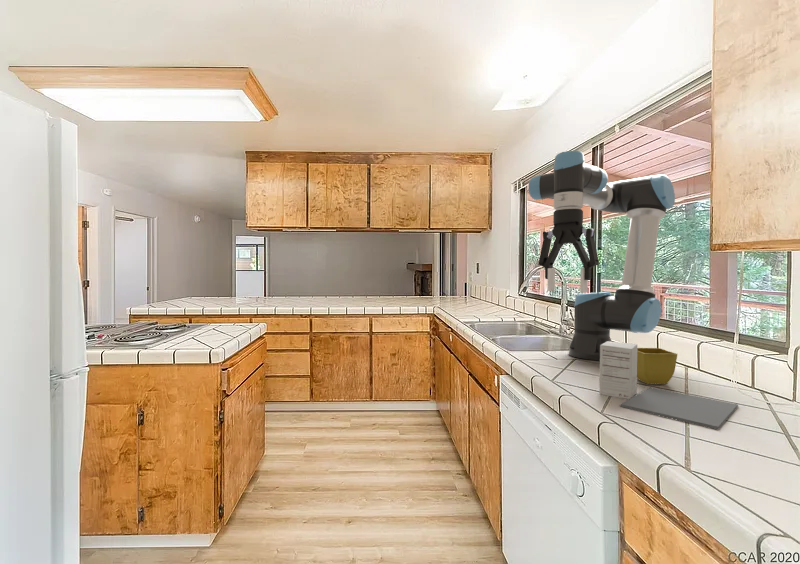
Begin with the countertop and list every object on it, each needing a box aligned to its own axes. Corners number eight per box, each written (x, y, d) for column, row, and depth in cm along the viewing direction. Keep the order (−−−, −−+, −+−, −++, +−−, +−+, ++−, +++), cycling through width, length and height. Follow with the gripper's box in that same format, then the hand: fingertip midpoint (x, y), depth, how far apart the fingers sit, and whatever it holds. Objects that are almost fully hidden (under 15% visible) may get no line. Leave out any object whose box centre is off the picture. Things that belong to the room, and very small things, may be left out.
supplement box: (606, 387, 109) (606, 340, 109) (637, 393, 104) (638, 343, 104) (598, 394, 103) (599, 344, 103) (631, 400, 99) (632, 348, 98)
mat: (649, 389, 107) (650, 387, 107) (737, 406, 94) (738, 404, 94) (620, 406, 94) (620, 404, 94) (718, 429, 80) (718, 426, 80)
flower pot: (627, 377, 119) (628, 347, 118) (658, 378, 118) (659, 347, 118) (643, 386, 110) (644, 353, 110) (677, 387, 109) (678, 353, 109)
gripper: (525, 212, 118) (525, 290, 119) (602, 203, 102) (601, 294, 103) (539, 214, 123) (538, 289, 124) (614, 206, 107) (613, 292, 108)
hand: (566, 291), depth 113 cm, fingers open, 9 cm apart
